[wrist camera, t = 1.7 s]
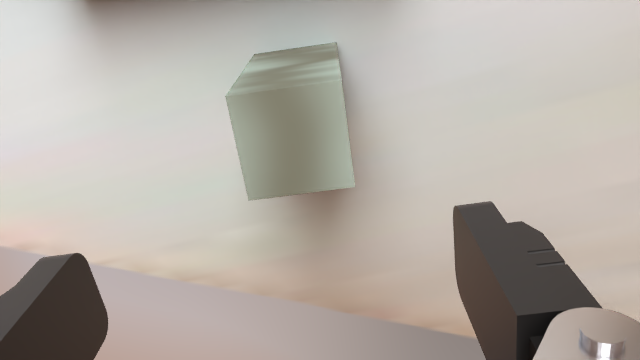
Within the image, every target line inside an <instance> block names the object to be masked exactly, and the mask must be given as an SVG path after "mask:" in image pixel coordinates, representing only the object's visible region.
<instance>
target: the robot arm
mask: <svg viewBox="0 0 640 360" xmlns="http://www.w3.org/2000/svg"><path fill="white" fill-rule="evenodd" d="M453 226H454V250H455V271H456V279H457V285H458V289H459V293H460V297H461V299H462V302H463V304H464V307H465V309H466V312H467V314H468V317H469V319H470V321H471V324H472V326H473V329H474V331H475V334H476V336H477V338H478V341H479V343H480V346H481V348H482V351H483V353H484V355H485V358H486V360H640V323H639V322H638V321H636V320H634V319H632V318H631V317H628V316H626V315H624V314H621V313H618V312H615V311H612V310H607V309H603V308H602V307H601V306H600V305H599V303H598V302H597V301H596V300H595V298H594V297H593V296H592V295H591V293H590V292H589V291H588V290H587V288H586V287H585V286H584V285H583V283H582V282H581V281H580V280H579V278H578V277H577V276H576V275H575V273H574V272H573V271H572V270H571V268H570V267H569V266H568V265H567V264H566V265H565V261H564V260H563V258H562V257H561V256H560V254H559V253H558V252H557V251H555V249H554V247H553V246H552V244H551V243H550V242H549V241H548V239H547V238H546V237H545V236H544V234H543V233H541V232H540V231H538V230H536V229H534V228H532V227H531V226H529V225H527V224H525V223H524V222H522V221H521V222H512V223H507V222H506V221H505V219H504V218H503V217H502V215H501V214H500V212H499V211H498V209H497V208H496V207H495V205H494V204H493V203H492V202H491V201H489V202H481V203H474V204H466V205H458V206H455V207H454V210H453ZM107 330H108V317H107V312H106V308H105V306H104V303H103V300H102V298H101V295H100V293H99V290H98V288H97V285H96V282H95V280H94V277H93V275H92V272H91V270H90V267H89V264H88V262H87V260H86V258H85V257H84V256H83V255H82V254H79V253H74V254H66V255H58V256H50V257H43V258H41V259H40V260H39V261H38V262H37V263H36V264H35V265H34V266H33V267H32V268H31V269H30V270H29V272H28V273H27V274H26V275H25V276H24V277H23V278H22V279H21V280H20V282H18V283H17V285H16V286H14V287H13V288H12V289H10V290H9V291H7V292H6V293H4V294H3V295H1V296H0V360H93V359H94V358H95V356H96V354H97V353H98V351H99V349H100V347H101V345H102V344H103V342H104V340H105V337H106V335H107Z"/></svg>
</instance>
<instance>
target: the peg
mask: <svg viewBox="0 0 640 360" xmlns="http://www.w3.org/2000/svg"><path fill="white" fill-rule="evenodd" d="M225 97H226V101H227V106H228V110H229V115H230V119H231V124H232V128H233V133H234V137H235V142H236V146H237V151H238V155H239V160H240V164H241V169H242V173H243V177H244V182H245V186H246V191H247V195H248V200H257V199H265V198H273V197H281V196H289V195H297V194H304V193H312V192H320V191H328V190H336V189H344V188H352V187H355V181H354V173H353V165H352V158H351V150H350V142H349V134H348V126H347V118H346V110H345V102H344V95H343V87H342V79H341V72H340V65H339V58H338V51H337V44H336V42H335V43H328V44H321V45H315V46H308V47H301V48H294V49H287V50H280V51H273V52H267V53H260V54H254V56H253V57H252V59H251V60H250V62H249V63H248V64H247V66H246V67H245V69H244V70H243V72H242V73H241V75H240V76H239V78H238V79H237V80H236V82H235V83H234V85H233V86H232V88H231V89H230V91H229V92H228V93H227V95H226V96H225Z"/></svg>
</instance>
